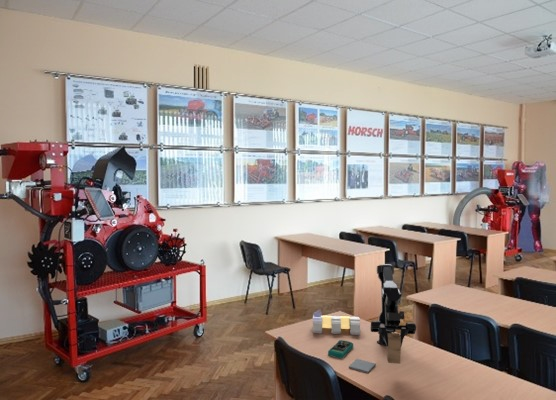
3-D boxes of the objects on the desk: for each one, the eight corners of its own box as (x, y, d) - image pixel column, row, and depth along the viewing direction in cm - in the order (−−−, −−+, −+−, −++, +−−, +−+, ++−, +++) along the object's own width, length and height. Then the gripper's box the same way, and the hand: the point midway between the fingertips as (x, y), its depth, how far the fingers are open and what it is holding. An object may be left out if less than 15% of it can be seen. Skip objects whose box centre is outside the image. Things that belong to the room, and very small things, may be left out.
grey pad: (356, 360, 194) (356, 358, 194) (375, 365, 189) (375, 363, 189) (348, 368, 186) (348, 366, 186) (368, 373, 181) (368, 371, 181)
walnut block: (387, 357, 182) (387, 332, 181) (399, 358, 181) (399, 333, 180) (388, 362, 177) (388, 337, 176) (400, 363, 176) (400, 338, 175)
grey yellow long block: (312, 334, 226) (312, 310, 225) (313, 327, 236) (313, 304, 236) (359, 335, 223) (360, 311, 222) (358, 328, 233) (358, 305, 233)
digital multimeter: (353, 347, 209) (353, 341, 209) (342, 359, 196) (342, 353, 195) (339, 344, 213) (339, 338, 212) (327, 356, 199) (327, 350, 199)
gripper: (371, 302, 182) (372, 337, 172) (415, 304, 179) (419, 340, 169) (369, 314, 191) (371, 348, 181) (412, 316, 188) (416, 351, 178)
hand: (394, 346), depth 177 cm, fingers closed on walnut block, 5 cm apart
